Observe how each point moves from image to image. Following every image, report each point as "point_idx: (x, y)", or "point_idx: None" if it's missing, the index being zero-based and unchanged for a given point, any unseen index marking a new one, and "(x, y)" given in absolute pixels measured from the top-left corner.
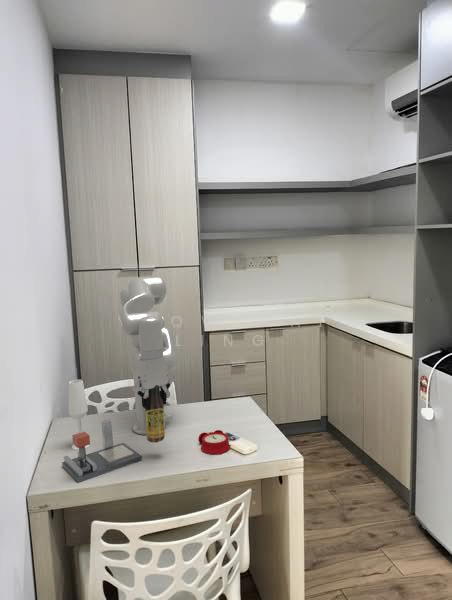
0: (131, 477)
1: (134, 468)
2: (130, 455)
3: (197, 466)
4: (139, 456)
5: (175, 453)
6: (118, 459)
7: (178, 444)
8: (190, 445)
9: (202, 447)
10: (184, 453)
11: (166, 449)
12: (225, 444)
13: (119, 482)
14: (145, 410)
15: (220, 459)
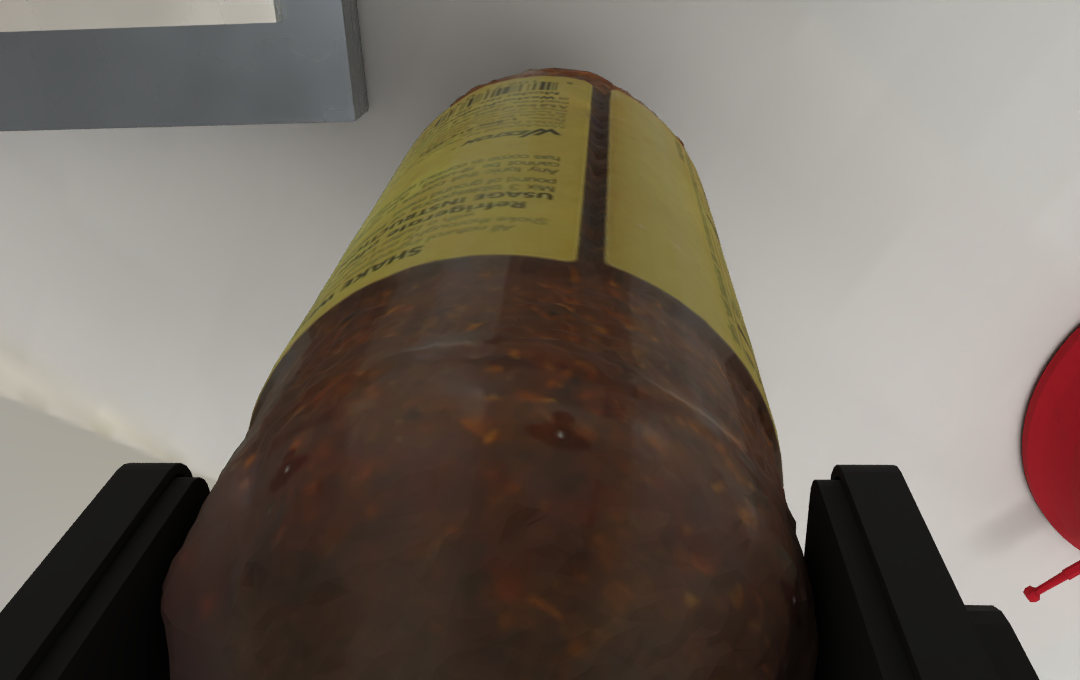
0: (139, 386)
1: (222, 239)
2: (224, 22)
3: None
4: (323, 118)
5: (777, 226)
6: (50, 30)
7: (981, 13)
8: (1067, 157)
9: (1067, 402)
10: (855, 297)
11: (762, 43)
12: None
13: (11, 395)
14: (264, 388)
15: (1019, 633)
